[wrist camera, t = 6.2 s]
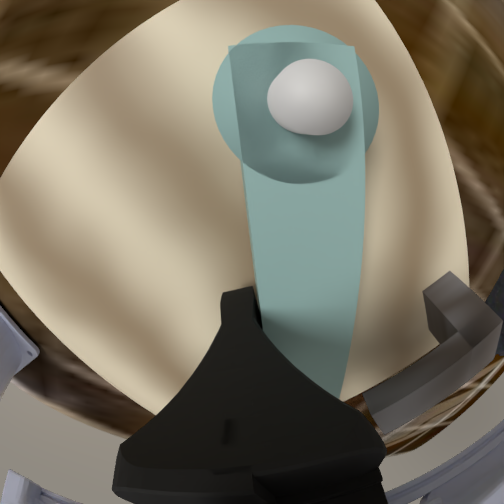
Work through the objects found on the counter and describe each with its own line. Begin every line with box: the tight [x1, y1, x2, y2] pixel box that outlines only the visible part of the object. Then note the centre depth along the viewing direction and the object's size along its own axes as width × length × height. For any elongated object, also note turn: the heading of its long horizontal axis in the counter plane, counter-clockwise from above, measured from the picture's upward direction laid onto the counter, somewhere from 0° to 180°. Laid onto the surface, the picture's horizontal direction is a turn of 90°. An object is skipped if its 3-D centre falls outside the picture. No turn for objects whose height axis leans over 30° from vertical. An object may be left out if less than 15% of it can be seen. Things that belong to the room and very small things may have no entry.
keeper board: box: [0, 0, 503, 435], centre depth 9 cm, size 21×22×6 cm
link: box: [212, 25, 379, 399], centre depth 8 cm, size 16×4×3 cm, turn 6°
